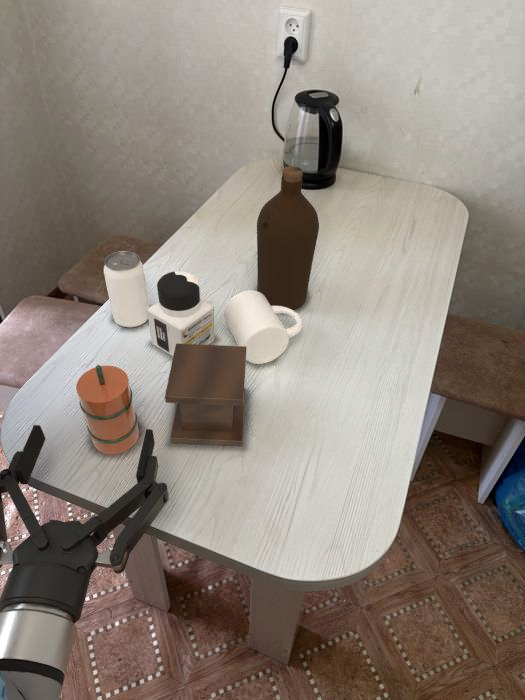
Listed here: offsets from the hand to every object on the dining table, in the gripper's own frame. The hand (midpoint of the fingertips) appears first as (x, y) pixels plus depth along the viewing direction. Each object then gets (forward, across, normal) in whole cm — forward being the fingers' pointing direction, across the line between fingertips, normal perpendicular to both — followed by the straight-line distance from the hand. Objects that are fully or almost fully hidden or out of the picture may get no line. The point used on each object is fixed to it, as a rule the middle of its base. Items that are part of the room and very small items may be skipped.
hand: (95, 433), depth 62 cm
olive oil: (+39, +24, -8) cm, 47 cm away
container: (+25, +7, -8) cm, 28 cm away
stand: (+9, +13, -8) cm, 18 cm away
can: (+31, -3, -8) cm, 32 cm away
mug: (+26, +21, -8) cm, 35 cm away
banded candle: (+5, 0, -8) cm, 9 cm away
